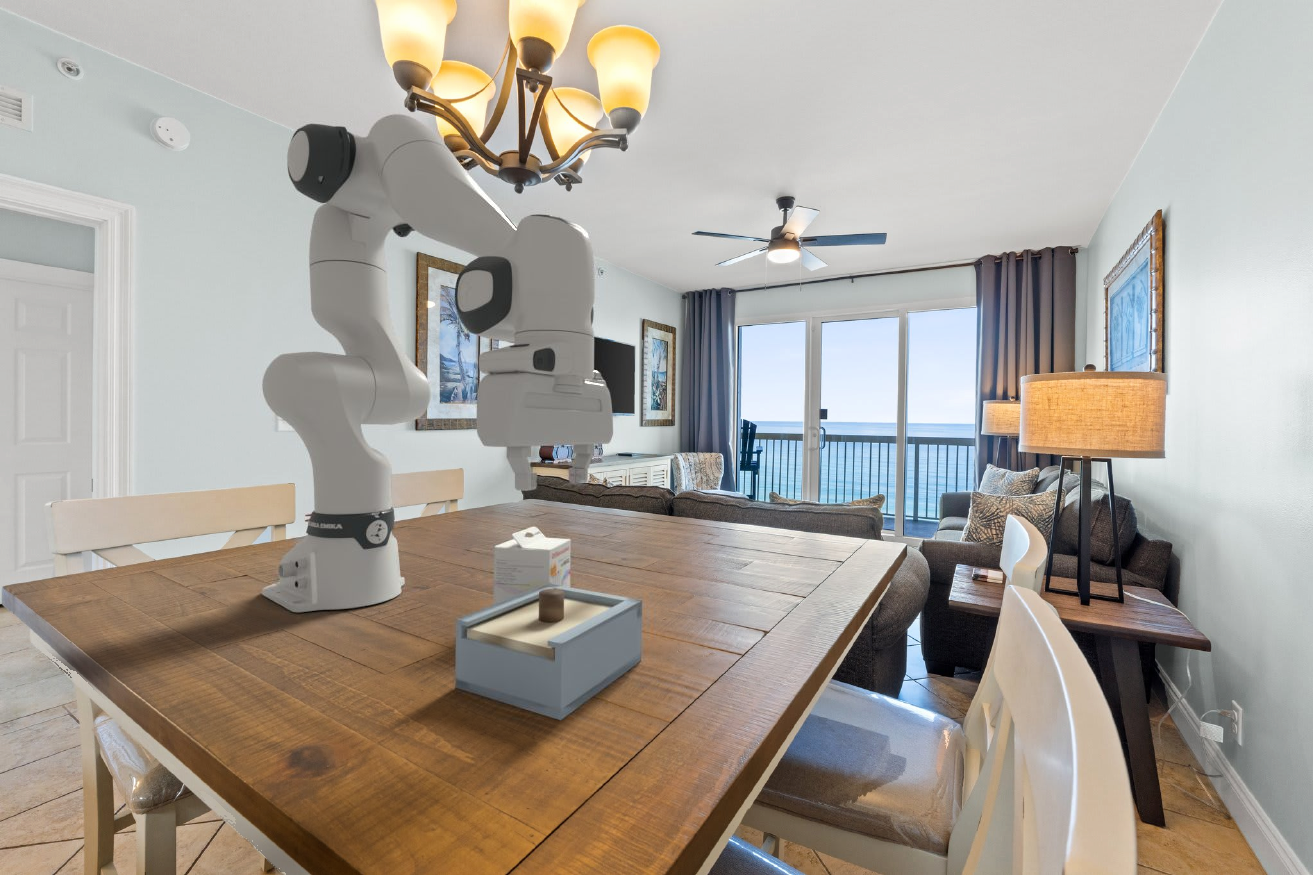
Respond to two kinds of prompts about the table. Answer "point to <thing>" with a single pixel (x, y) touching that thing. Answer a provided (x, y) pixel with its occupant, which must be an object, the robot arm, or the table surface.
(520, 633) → the lid
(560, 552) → the ink box
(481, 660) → the box
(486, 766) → the table surface
